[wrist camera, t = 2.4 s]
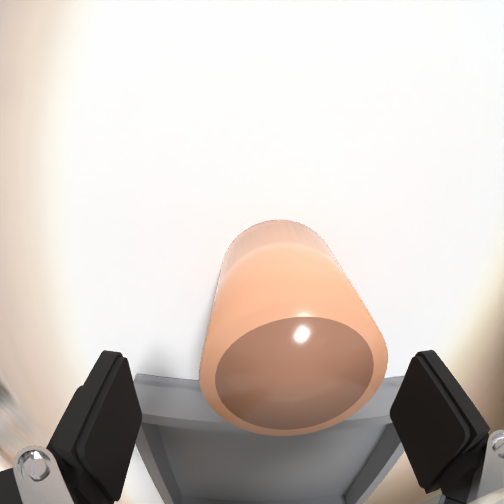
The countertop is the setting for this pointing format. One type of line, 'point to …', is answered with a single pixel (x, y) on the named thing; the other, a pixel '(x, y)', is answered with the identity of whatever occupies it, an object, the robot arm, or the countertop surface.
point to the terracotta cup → (288, 336)
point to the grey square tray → (260, 451)
